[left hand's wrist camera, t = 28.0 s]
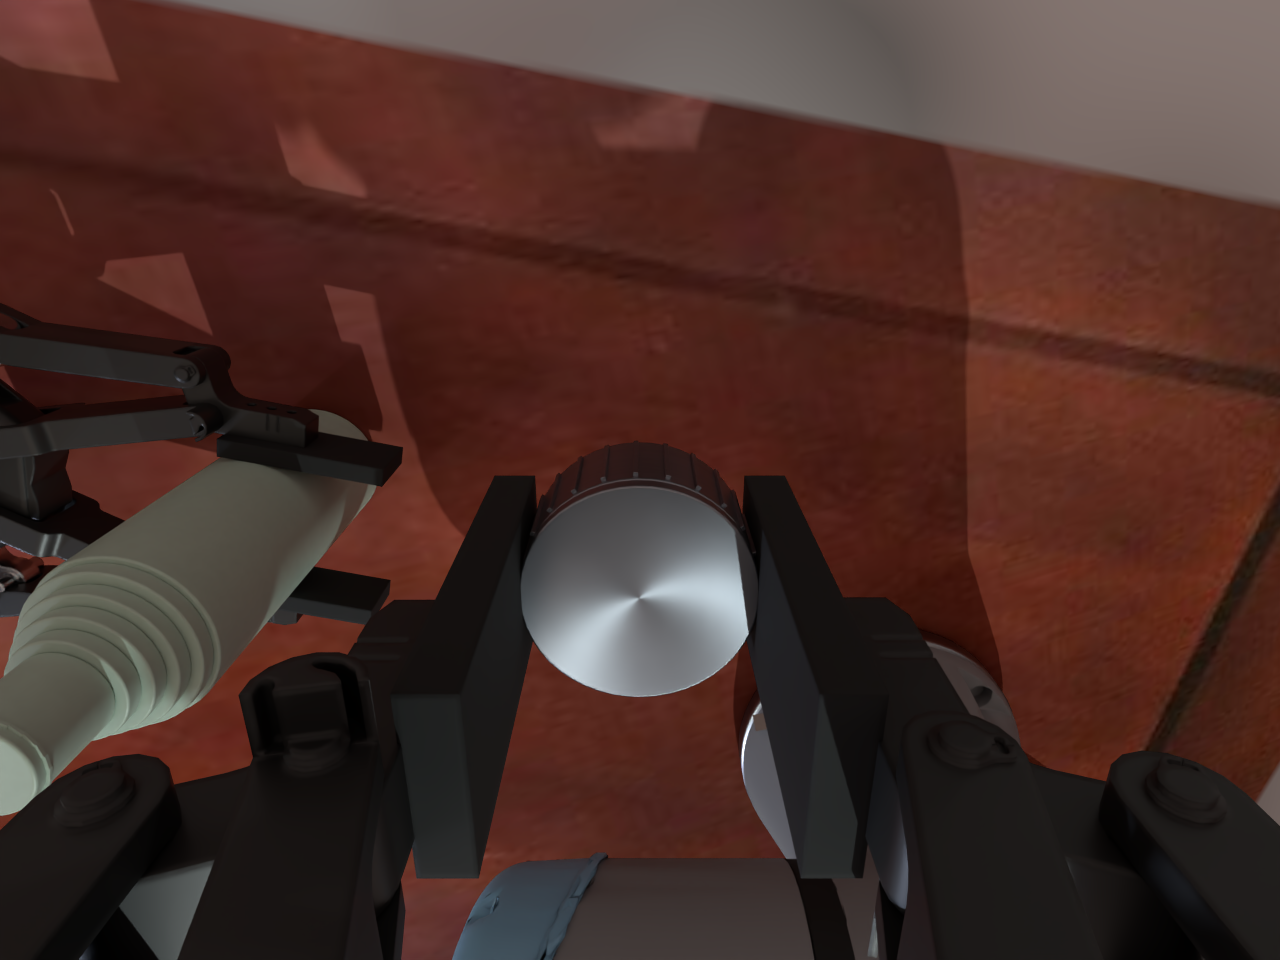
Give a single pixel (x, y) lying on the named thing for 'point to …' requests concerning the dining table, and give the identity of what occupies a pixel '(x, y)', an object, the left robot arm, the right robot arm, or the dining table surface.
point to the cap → (639, 571)
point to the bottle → (160, 608)
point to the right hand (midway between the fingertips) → (385, 536)
